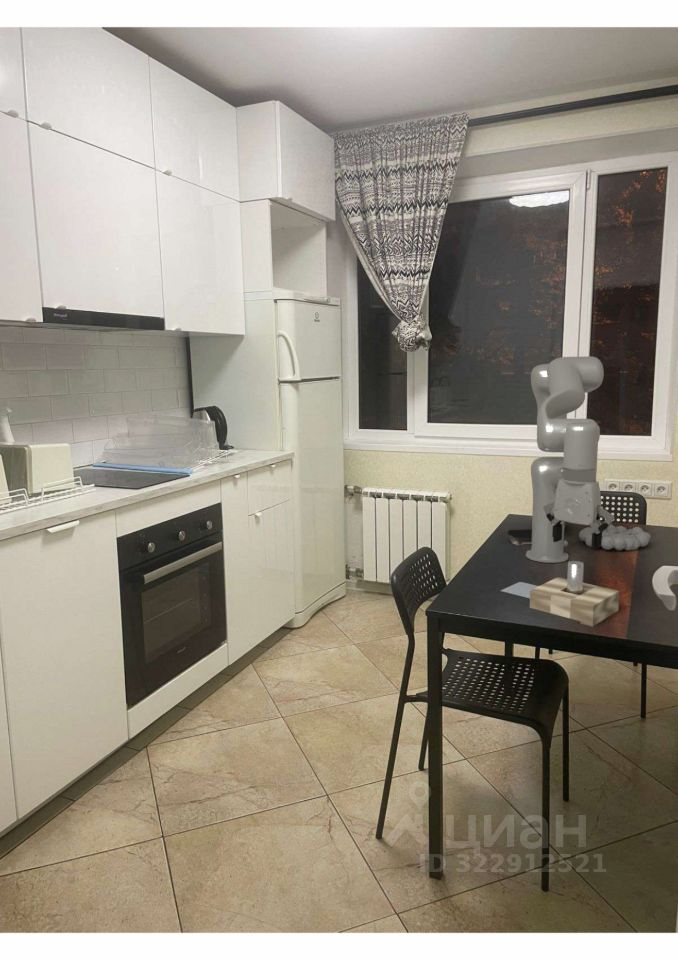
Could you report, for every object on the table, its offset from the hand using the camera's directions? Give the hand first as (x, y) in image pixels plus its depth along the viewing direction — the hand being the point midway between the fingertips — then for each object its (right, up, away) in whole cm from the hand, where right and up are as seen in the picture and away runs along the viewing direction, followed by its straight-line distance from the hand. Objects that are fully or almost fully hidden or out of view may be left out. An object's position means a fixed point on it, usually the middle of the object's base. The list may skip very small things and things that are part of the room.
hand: (576, 544), depth 163 cm
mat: (-8, -14, +16) cm, 22 cm away
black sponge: (+9, -6, +66) cm, 67 cm away
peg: (0, -16, +2) cm, 16 cm away
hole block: (0, -16, +2) cm, 16 cm away
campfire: (+34, -6, +60) cm, 69 cm away
